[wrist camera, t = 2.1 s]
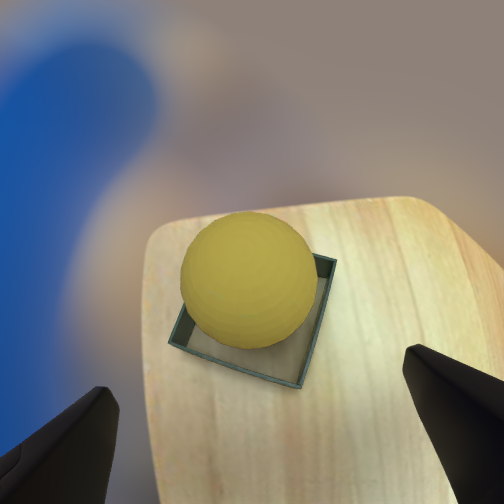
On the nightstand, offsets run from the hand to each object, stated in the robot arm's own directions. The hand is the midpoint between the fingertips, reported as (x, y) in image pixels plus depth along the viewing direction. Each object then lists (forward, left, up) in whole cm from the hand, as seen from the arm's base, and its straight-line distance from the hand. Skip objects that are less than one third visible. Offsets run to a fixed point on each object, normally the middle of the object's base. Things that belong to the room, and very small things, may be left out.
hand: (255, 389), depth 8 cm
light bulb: (+5, +2, -12) cm, 13 cm away
